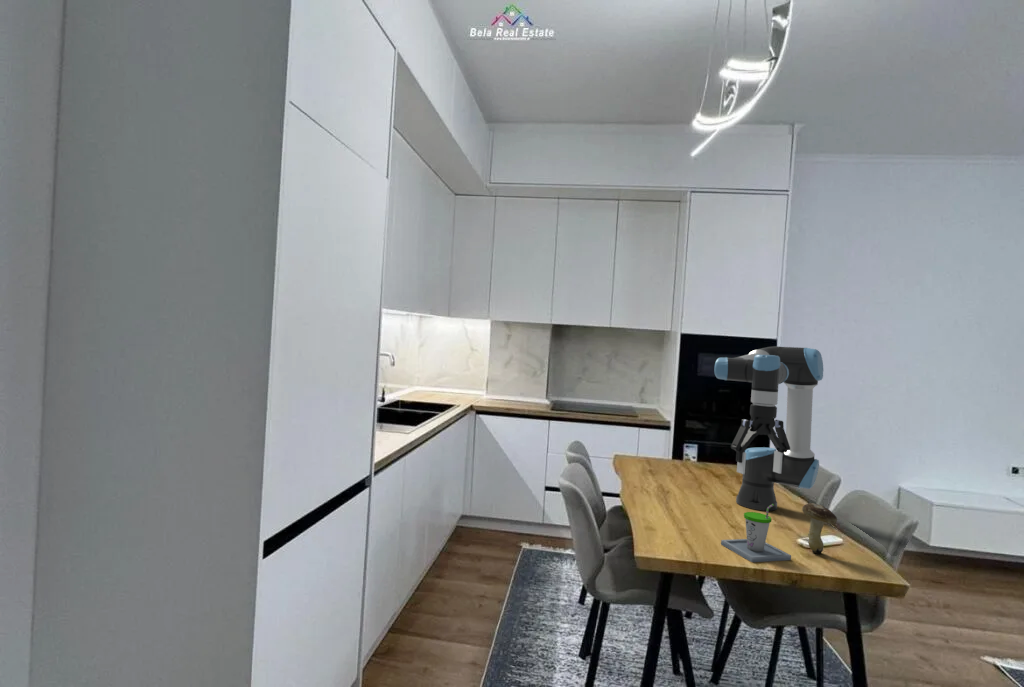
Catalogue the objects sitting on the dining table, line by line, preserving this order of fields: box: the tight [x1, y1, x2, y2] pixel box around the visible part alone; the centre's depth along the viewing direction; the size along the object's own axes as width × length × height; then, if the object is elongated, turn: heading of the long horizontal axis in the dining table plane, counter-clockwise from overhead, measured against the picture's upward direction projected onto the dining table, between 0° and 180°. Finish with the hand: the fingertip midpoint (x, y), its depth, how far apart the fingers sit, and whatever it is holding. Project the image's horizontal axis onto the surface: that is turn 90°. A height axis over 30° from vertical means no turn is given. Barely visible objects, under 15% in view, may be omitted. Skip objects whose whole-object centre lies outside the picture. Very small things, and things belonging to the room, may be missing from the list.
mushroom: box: [801, 502, 838, 555], centre depth 175 cm, size 9×9×15 cm
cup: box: [743, 504, 774, 552], centre depth 172 cm, size 8×8×15 cm
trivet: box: [720, 538, 792, 563], centre depth 172 cm, size 14×14×1 cm
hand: (759, 472), depth 174 cm, fingers open, 13 cm apart
